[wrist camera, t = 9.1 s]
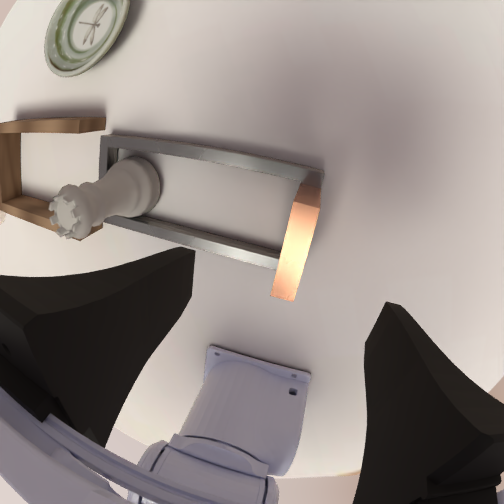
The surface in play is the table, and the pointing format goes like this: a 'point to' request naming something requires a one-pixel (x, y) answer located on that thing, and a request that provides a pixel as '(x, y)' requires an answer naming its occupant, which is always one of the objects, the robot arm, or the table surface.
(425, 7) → the table surface
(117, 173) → the rook chess piece
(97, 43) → the saucer
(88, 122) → the walnut lane
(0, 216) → the shot glass
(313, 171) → the frame
